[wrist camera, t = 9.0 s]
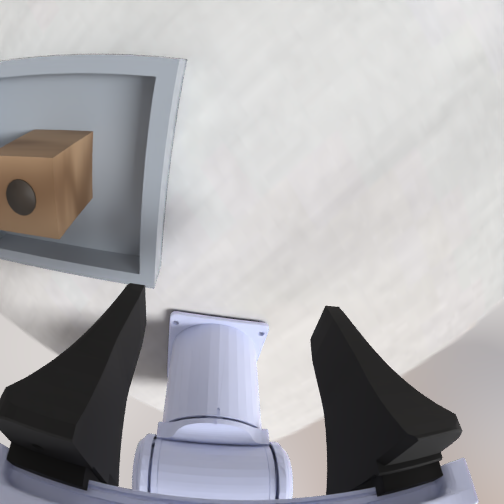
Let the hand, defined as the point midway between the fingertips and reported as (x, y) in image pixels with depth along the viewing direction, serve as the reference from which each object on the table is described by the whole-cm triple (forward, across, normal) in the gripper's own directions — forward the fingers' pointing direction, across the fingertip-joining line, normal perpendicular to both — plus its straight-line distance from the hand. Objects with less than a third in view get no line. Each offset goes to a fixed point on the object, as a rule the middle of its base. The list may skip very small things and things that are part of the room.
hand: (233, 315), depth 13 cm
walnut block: (+9, +11, -2) cm, 14 cm away
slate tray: (+9, +11, -2) cm, 15 cm away
